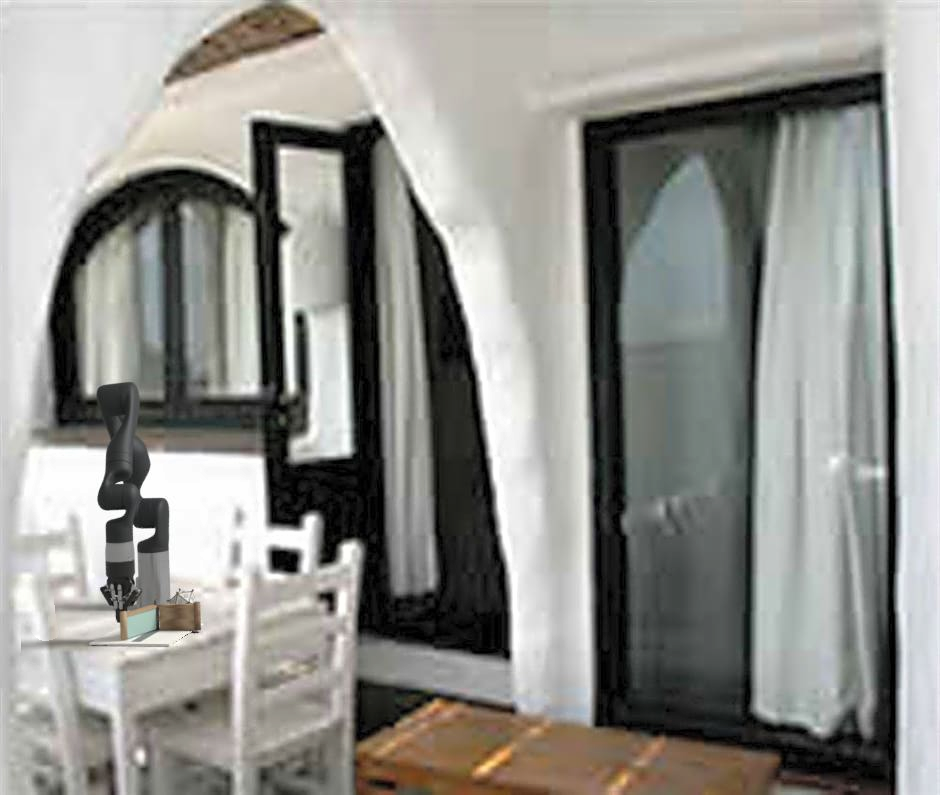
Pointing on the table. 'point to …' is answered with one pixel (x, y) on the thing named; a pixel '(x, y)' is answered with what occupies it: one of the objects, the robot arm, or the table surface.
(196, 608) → the fixed fence section
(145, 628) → the tan and green panel
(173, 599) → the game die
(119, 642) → the board
